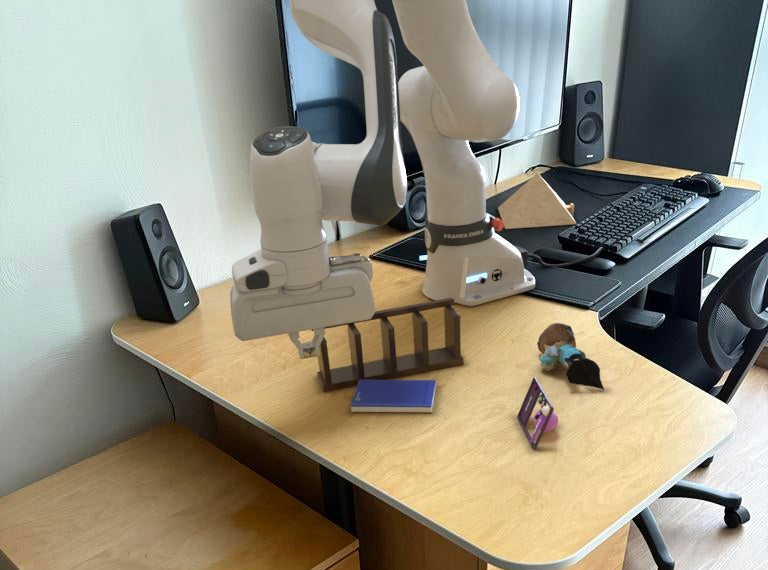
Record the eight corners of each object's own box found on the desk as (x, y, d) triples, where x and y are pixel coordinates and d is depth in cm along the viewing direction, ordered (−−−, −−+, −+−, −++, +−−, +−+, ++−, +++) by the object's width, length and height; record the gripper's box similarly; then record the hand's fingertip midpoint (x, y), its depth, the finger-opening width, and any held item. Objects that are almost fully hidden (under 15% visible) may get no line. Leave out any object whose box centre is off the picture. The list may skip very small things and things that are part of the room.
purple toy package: (529, 375, 109) (546, 407, 102) (561, 382, 110) (581, 413, 103) (512, 416, 113) (528, 448, 106) (544, 422, 114) (562, 455, 107)
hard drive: (350, 404, 117) (431, 404, 115) (359, 378, 123) (436, 378, 121) (351, 412, 118) (431, 413, 116) (360, 386, 124) (436, 387, 122)
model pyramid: (579, 224, 179) (583, 179, 173) (505, 229, 180) (506, 184, 174) (567, 203, 192) (570, 160, 186) (497, 208, 193) (498, 166, 187)
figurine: (569, 348, 130) (572, 314, 126) (606, 391, 117) (610, 355, 114) (527, 354, 129) (528, 320, 125) (558, 398, 117) (561, 362, 113)
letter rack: (453, 351, 132) (452, 297, 126) (463, 364, 128) (463, 308, 122) (317, 378, 128) (309, 323, 122) (323, 392, 124) (316, 336, 118)
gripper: (365, 244, 108) (372, 335, 116) (220, 266, 104) (238, 359, 113) (376, 258, 103) (383, 352, 111) (224, 282, 99) (243, 377, 108)
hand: (309, 356), depth 112 cm, fingers closed
